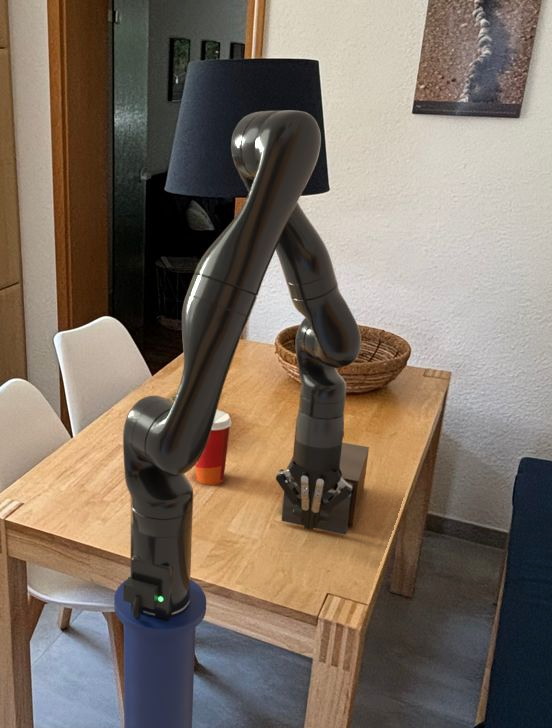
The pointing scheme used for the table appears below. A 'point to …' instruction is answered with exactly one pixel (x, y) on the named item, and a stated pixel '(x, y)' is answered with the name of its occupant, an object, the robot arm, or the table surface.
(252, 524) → the table surface
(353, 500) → the cabinet
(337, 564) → the table surface
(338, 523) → the drawer
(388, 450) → the table surface
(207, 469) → the paper cup
